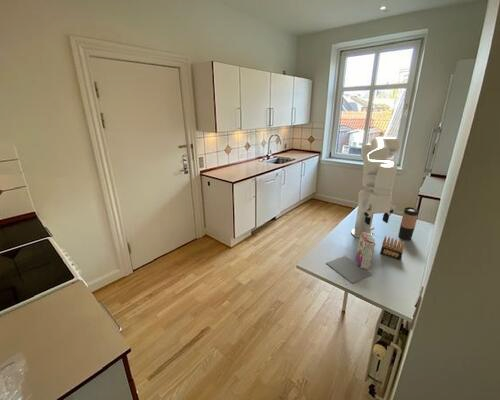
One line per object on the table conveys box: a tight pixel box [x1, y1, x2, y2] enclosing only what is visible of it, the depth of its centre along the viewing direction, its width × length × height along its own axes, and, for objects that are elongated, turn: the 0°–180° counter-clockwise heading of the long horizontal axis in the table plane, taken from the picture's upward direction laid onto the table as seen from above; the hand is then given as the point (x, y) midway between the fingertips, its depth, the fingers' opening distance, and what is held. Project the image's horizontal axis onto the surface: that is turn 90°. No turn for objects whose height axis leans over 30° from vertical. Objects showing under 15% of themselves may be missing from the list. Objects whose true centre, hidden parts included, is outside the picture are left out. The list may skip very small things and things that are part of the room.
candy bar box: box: [355, 232, 376, 270], centre depth 129 cm, size 11×5×16 cm, turn 169°
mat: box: [326, 255, 373, 285], centre depth 128 cm, size 14×18×1 cm
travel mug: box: [398, 207, 420, 241], centre depth 153 cm, size 8×8×20 cm
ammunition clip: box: [379, 235, 405, 261], centre depth 136 cm, size 11×2×12 cm, turn 51°
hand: (376, 222), depth 120 cm, fingers open, 9 cm apart
